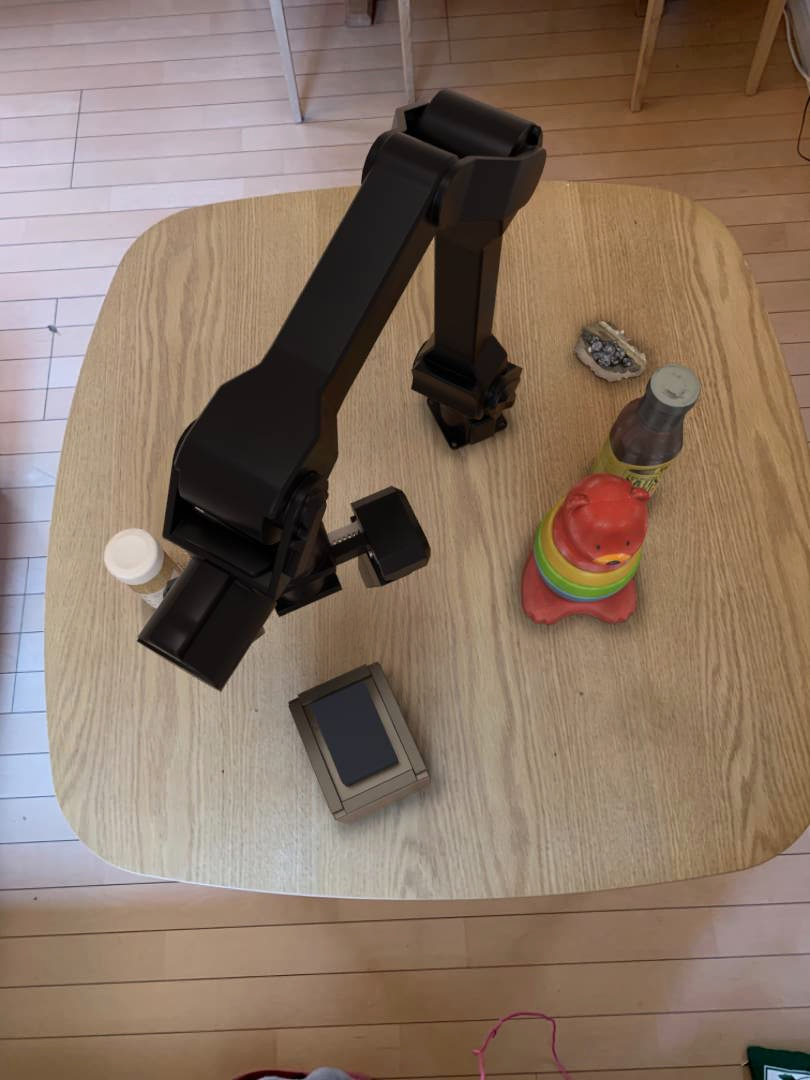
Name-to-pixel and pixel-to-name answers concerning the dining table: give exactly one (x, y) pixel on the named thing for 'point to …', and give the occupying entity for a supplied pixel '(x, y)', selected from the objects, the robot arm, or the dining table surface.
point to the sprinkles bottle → (140, 563)
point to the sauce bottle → (650, 429)
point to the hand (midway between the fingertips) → (313, 604)
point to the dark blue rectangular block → (354, 733)
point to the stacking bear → (587, 553)
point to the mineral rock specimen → (609, 352)
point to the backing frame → (379, 786)
